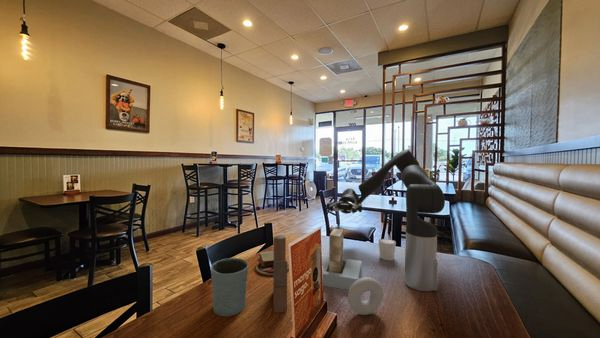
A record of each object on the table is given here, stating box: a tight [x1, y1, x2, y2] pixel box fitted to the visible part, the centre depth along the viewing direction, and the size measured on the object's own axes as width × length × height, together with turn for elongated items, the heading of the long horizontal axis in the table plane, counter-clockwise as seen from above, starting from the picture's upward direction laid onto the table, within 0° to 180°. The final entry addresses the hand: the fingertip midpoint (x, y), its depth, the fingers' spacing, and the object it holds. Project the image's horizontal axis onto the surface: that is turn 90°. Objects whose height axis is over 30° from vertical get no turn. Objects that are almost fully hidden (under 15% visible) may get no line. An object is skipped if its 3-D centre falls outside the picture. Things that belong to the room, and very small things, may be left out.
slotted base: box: [321, 255, 363, 291], centre depth 88 cm, size 16×14×4 cm
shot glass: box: [378, 238, 397, 261], centre depth 105 cm, size 7×7×7 cm
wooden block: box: [272, 234, 288, 313], centre depth 73 cm, size 4×11×18 cm, turn 7°
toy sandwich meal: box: [255, 250, 290, 277], centre depth 95 cm, size 12×14×5 cm
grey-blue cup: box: [210, 257, 249, 317], centre depth 70 cm, size 10×10×12 cm
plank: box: [328, 228, 345, 274], centre depth 88 cm, size 4×8×16 cm, turn 162°
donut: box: [347, 276, 384, 316], centre depth 67 cm, size 10×4×10 cm, turn 104°
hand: (342, 209), depth 97 cm, fingers open, 8 cm apart
